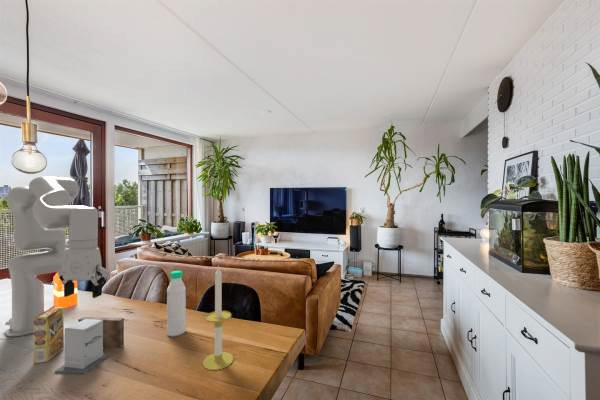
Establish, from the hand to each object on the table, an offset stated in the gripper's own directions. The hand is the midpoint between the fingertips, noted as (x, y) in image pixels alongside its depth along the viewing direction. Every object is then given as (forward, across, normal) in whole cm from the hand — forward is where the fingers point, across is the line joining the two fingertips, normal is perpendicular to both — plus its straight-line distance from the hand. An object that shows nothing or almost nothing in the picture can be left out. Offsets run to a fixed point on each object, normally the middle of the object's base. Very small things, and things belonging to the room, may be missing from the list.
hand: (83, 295), depth 90 cm
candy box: (+23, -15, +4) cm, 28 cm away
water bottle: (+22, +21, +22) cm, 37 cm away
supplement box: (+22, +1, 0) cm, 22 cm away
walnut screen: (+22, -2, +11) cm, 25 cm away
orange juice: (+24, -51, +47) cm, 73 cm away
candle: (+22, +45, +4) cm, 50 cm away
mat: (+22, +1, 0) cm, 22 cm away
